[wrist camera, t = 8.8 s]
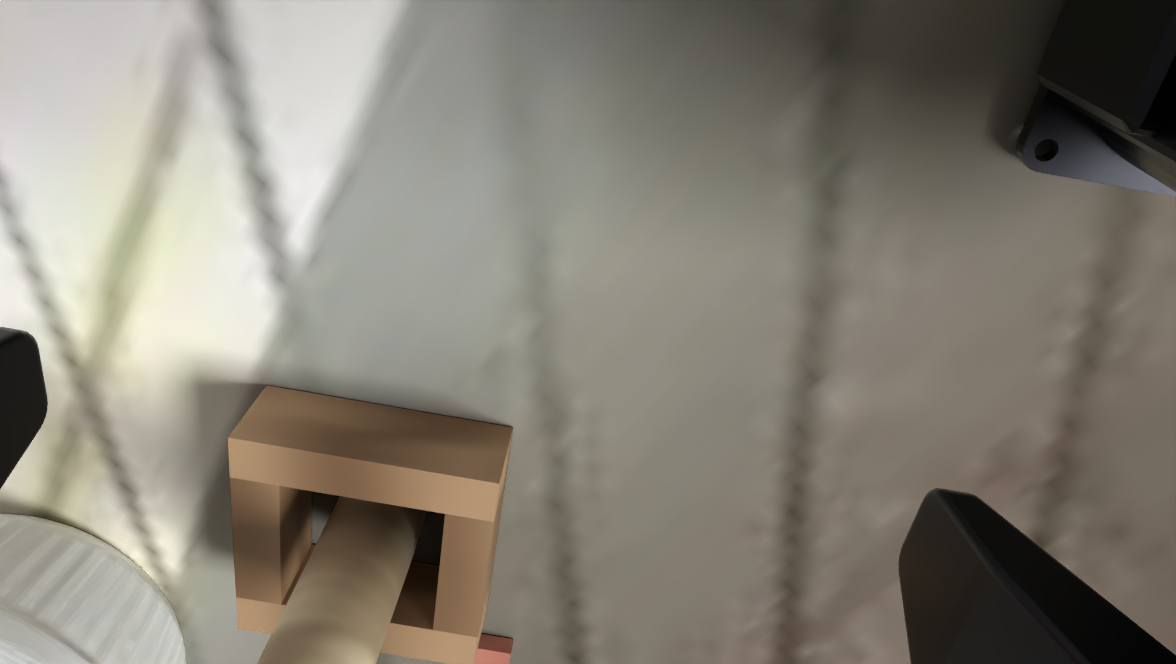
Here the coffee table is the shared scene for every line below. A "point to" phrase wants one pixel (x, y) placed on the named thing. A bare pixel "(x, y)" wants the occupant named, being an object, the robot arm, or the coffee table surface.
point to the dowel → (348, 586)
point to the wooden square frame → (379, 474)
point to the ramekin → (78, 600)
